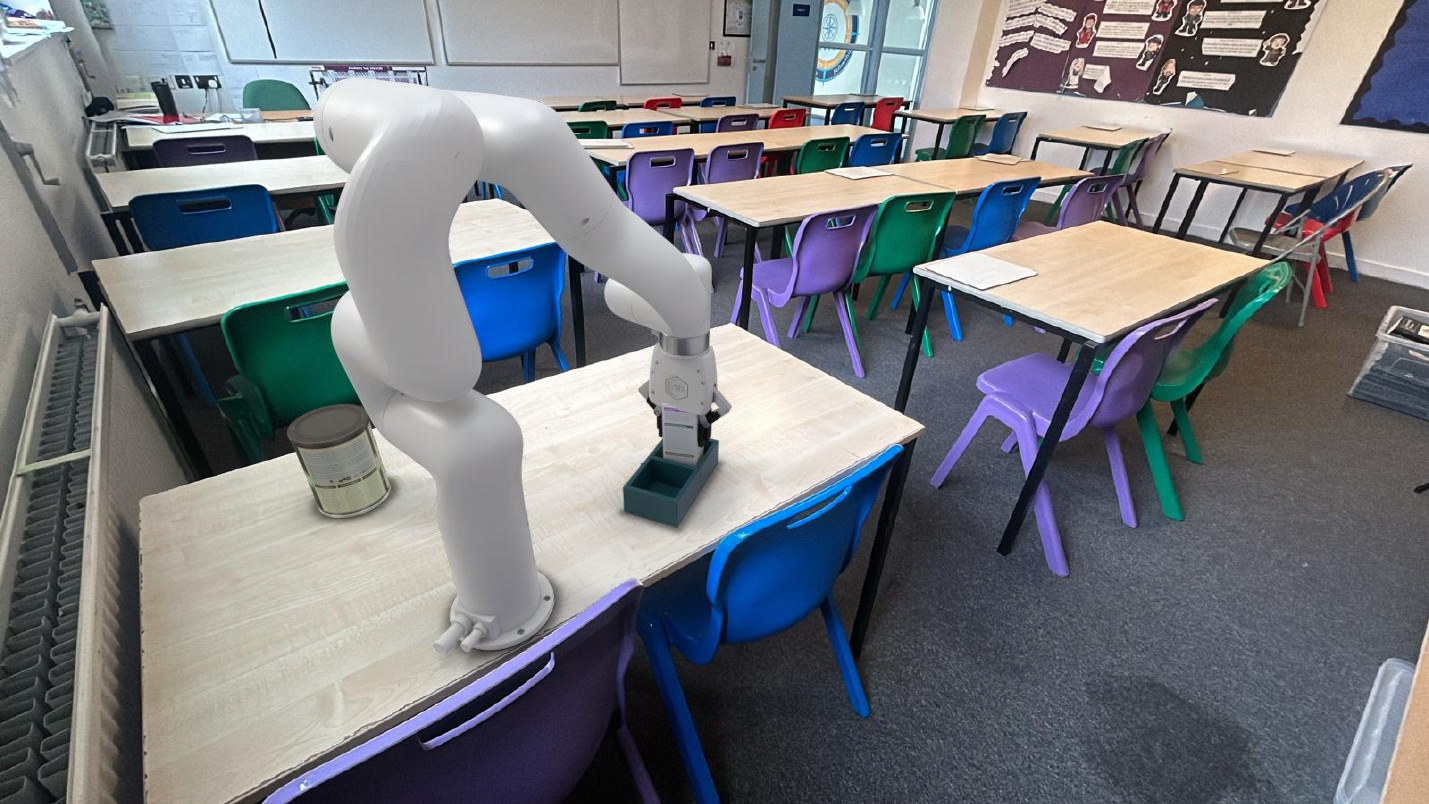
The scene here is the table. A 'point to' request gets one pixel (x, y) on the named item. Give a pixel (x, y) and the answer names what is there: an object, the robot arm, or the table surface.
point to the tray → (668, 485)
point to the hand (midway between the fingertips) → (683, 437)
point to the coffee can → (340, 459)
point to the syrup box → (680, 436)
